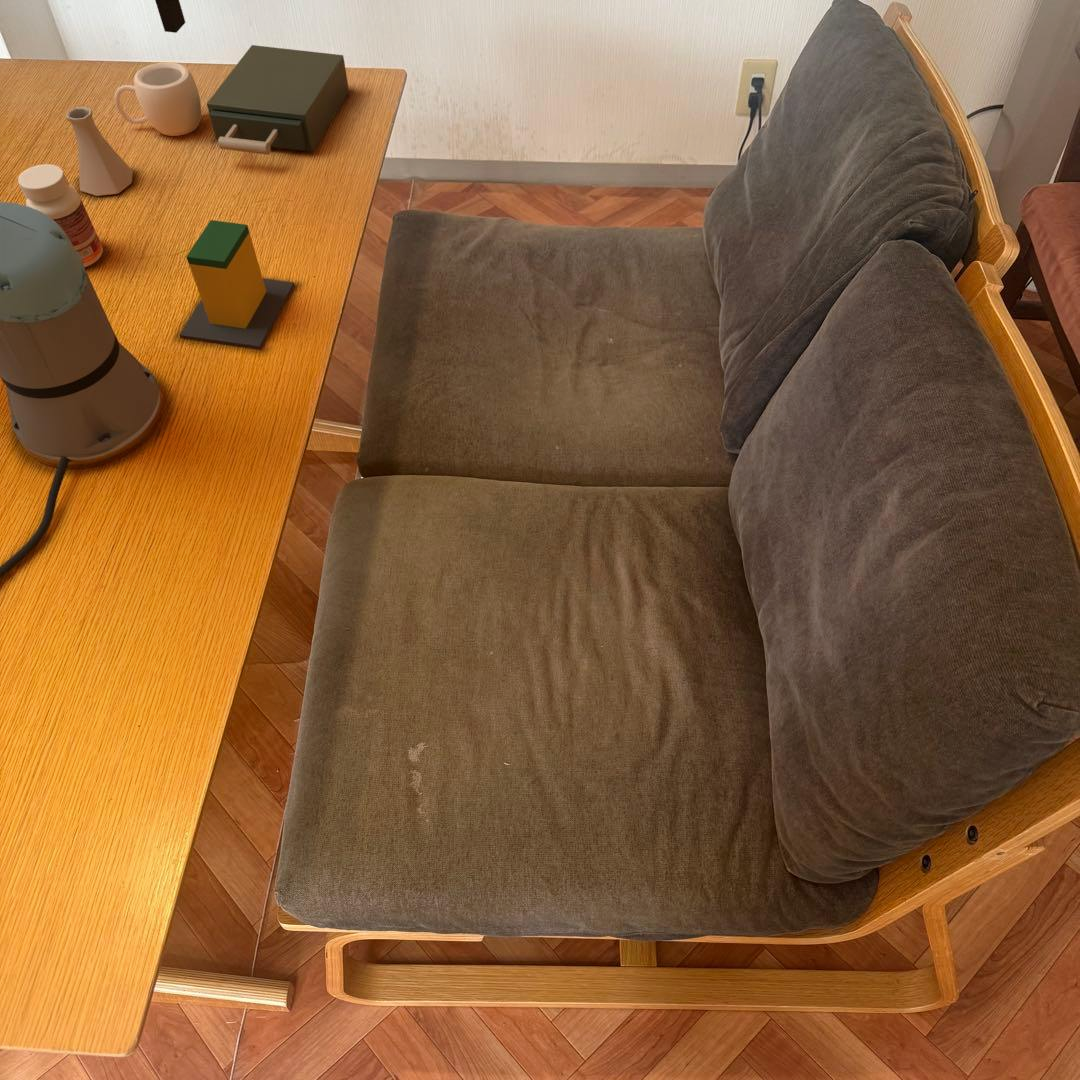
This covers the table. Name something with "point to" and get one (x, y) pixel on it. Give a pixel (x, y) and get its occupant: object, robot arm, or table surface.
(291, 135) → the drawer
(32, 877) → the table surface
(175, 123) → the mug
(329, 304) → the table surface
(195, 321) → the mat
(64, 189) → the pill bottle
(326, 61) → the cabinet
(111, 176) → the flask
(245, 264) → the sponge
